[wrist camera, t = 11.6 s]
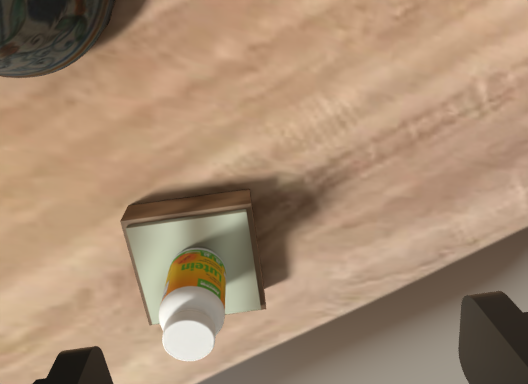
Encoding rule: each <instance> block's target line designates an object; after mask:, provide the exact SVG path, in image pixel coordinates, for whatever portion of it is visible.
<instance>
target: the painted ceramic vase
mask: <svg viewBox="0 0 528 384" xmlns="http://www.w3.org/2000/svg"><path fill="white" fill-rule="evenodd" d="M114 1H115V0H0V76H2V77H11V78H27V77H36V76H42V75H46V74H50V73H53V72H56V71H58V70H61V69H63V68H65V67H67V66H69V65H70V64H72V63H74V62H75V61H77V60H78V59H79V58H80V57H82V56H83V55H84V54H85V53H86V52H87V51H88V50H89V49H90V48H91V47H92V46H93V45H94V43H95V42H96V40H97V39H98V37H99V36H100V34H101V32H102V31H103V30H104V28H105V27H106V26H107V24H108V23H109V20H110V17H111V13H112V9H113V5H114Z"/></svg>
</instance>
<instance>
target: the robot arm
mask: <svg viewBox="0 0 528 384" xmlns="http://www.w3.org/2000/svg"><path fill="white" fill-rule="evenodd" d="M459 359H460V363H461V366H462V370H463V372H464V375H465V377H466V379H467V380H468V382H469V384H528V312H524V313H523V312H522V311H521V310H520V309H519V308H518V307H517V306H516V305H515V304H514V303H513V301H512V300H511V299H510V298H509V297H508V296H507V295H506V294H505V293H503V292H501V291H496V292H488V293H482V294H474V295H467V296H465V297H464V298H463V300H462V305H461V319H460V335H459ZM33 384H113V381H112V378H111V376H110V373H109V370H108V367H107V364H106V361H105V358H104V355H103V353H102V350H101V349H100V348H99V347H98V346H94V347H87V348H80V349H73V350H65V351H62V352H60V353H59V354H58V356H57V358H56V360H55V362H54V364H53V366H52V368H51V370H50V372H49V374H48V376H47V378H45V379H38V380H36V381H35V382H34V383H33Z"/></svg>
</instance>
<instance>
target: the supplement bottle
mask: <svg viewBox="0 0 528 384" xmlns="http://www.w3.org/2000/svg"><path fill="white" fill-rule="evenodd" d="M225 294H226V269H225V265H224V263H223V261H222V259H221V258H220V257H219V256H218V255H217V254H216V253H214V252H213V251H211V250H208V249H205V248H190V249H186V250H184V251H182V252H180V253H179V254H178V255H177V256H176V257H175V258H174V259H173V261H172V262H171V265H170V268H169V271H168V275H167V280H166V284H165V288H164V292H163V296H162V300H161V304H160V308H159V322H160V325H161V328H162V330H163V337H162V342H163V346H164V348H165V350H166V351H167V352H168V354H170V355H171V356H172V357H174V358H176V359H179V360H182V361H195V360H199V359H202V358H204V357H205V356H207V355H208V354H209V353H210V352H211V351H212V349H213V347H214V344H215V336H216V335H217V334H218V332H219V331H220V330H221V328H222V326H223V323H224V318H225Z"/></svg>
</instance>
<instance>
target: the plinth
mask: <svg viewBox="0 0 528 384" xmlns="http://www.w3.org/2000/svg"><path fill="white" fill-rule="evenodd" d="M120 222H121V225H122V229H123V232H124V236H125V239H126V243H127V247H128V250H129V254H130V257H131V261H132V264H133V268H134V272H135V275H136V279H137V282H138V286H139V289H140V293H141V297H142V300H143V304H144V307H145V311H146V314H147V318H148V322H149V325H155V324H160V322H159V308H160V304H161V300H162V296H163V292H164V288H165V284H166V280H167V275H168V271H169V268H170V265H171V262H172V261H173V259H174V258H175V257H176V256H177V255H178V254H179V253H180V252H182V251H184V250H186V249H190V248H205V249H208V250H211V251H213V252H214V253H216V254H217V255H218V256H219V257H220V258H221V259H222V261H223V263H224V265H225V269H226V294H225V315H227V314H234V313H241V312H248V311H256V310H263V309H266V302H265V293H264V285H263V278H262V271H261V265H260V258H259V251H258V244H257V237H256V230H255V223H254V217H253V210H252V203H251V196H250V189H246V190H239V191H231V192H224V193H217V194H209V195H202V196H195V197H187V198H180V199H173V200H165V201H158V202H151V203H143V204H136V205H129V206H128V207H127V209H126V211H125V213H124V215H123V217H122V219H121V221H120Z"/></svg>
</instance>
